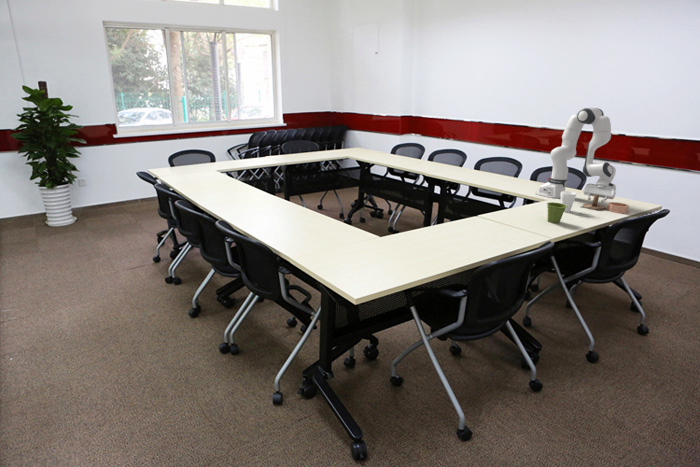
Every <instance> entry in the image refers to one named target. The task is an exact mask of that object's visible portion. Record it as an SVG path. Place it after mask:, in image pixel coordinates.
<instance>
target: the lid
mask: <svg viewBox="0 0 700 467" xmlns="http://www.w3.org/2000/svg"><path fill="white" fill-rule="evenodd" d="M599 199H600V197H599V195H594V196H593V198H592V203H583V205H582V206H583V207H585V208H584V209H586V208H587V210H591V209H592V211H596V210H602V211H605V210H606V209H605V208H606V206H604V205H601V204H598V203H599Z"/></svg>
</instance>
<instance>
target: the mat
mask: <svg viewBox="0 0 700 467" xmlns="http://www.w3.org/2000/svg"><path fill="white" fill-rule="evenodd" d="M580 208H582V209H587V208H585V207H583V205H580ZM587 210H588V209H587ZM590 210H592V209H590ZM605 210H607V207H605ZM592 211H593V210H592ZM595 211H596V212H602V211H603V210H595Z"/></svg>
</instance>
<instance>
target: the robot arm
mask: <svg viewBox="0 0 700 467" xmlns="http://www.w3.org/2000/svg"><path fill="white" fill-rule="evenodd" d="M584 125H589V126H590V125H591V126H592V128H593V130H592V137H591V140H589V141H588V144H587V148H586V155H585V159H584V165H583V167H582V173H583V175H584V176H586V177H587V178H590V177H599V178H598V179H597V181H596V183H587V184H586V185H585V188H584V189H583V191H582V192H583V194H584V196H585V195H586V196H587V201H591V199H592V197H594V195H599V198H602V199H601V201H600V202H601V203H605V201H607V200H614V199H615V198H616V192H617V186H616V184H614V183H612V181H613V180H614V178H615V176H616V172H617V168H616V167H615V166H613V165H611V164H610V163H609V162H608V161H607V162H606V161H603V162H594V158H595V151H596V150H597V149H598V148H600V147H602V146H604V145H606V144H608V142H609V141H610V140H611V137H612V124H611V119H610V118H609V117H608V116H606V115H605V114H604V111H603V110H602V109H601V108H599V107H586V108H585V107H584V108H582V109H580V110H579V111H578V112H577V113H574V114H572V115H571V117H569V119H568V121H567V123H566V126H565V128H564V130H563V133H562V135H561V139H562V142H561V146H557V147H555V148H553V149H552V150H551V151H550V155H549V156H550V158H551V161H552V162H551V163H552V172H551V176H550V177H549V178H548V179H547V182H545V183H543V184H541V185H540V186H539V188H538V189H537V190H536V191H535V192H534V194H535V195H539V196H543V197H546V198H551V199H561V192H562V191H566V187H567V183H568V174H569V167H568V163H567V162H568V161H569V160H572V159H573V158H575V157H576V155H577V150H576V148H577V143H578V140H579V137H580V135H581V133H582V131H583V127H584Z"/></svg>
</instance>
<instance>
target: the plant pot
mask: <svg viewBox="0 0 700 467" xmlns="http://www.w3.org/2000/svg"><path fill="white" fill-rule="evenodd" d="M546 205H547V222H548V223H549V222H550V223H552V224H559V223H560V222H561V219H562V217H563V214H564V213H565V212H564V211H565V209H566V207H567V205H564V204H561V203H559V202H554V201H553V202H547V203H546Z"/></svg>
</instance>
